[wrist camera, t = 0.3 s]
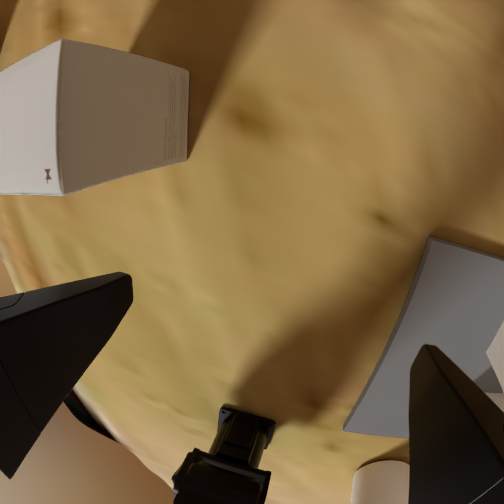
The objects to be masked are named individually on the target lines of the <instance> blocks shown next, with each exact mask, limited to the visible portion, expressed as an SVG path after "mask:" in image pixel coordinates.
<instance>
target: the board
mask: <svg viewBox="0 0 504 504" xmlns="http://www.w3.org/2000/svg"><path fill="white" fill-rule="evenodd" d="M503 321H504V258H502V257H499V256H496V255H493V254H490V253H486V252H483V251H480V250H477V249H473V248H470V247H467V246H463V245H460V244H457V243H453V242H450V241H446V240H443V239H439V238H436V237H432V236H429V237H428V240H427V243H426V246H425V249H424V252H423V255H422V258H421V261H420V264H419V267H418V270H417V272H416V275H415V278H414V281H413V283H412V286H411V288H410V291H409V294H408V296H407V299H406V301H405V304H404V306H403V308H402V311H401V313H400V316H399V318H398V320H397V323H396V325H395V327H394V329H393V332H392V334H391V336H390V338H389V340H388V342H387V345H386V347H385V349H384V351H383V353H382V355H381V357H380V359H379V361H378V363H377V365H376V367H375V369H374V371H373V373H372V375H371V377H370V379H369V381H368V382H367V384H366V386H365V388H364V390H363V392H362V393H361V395H360V397H359V399H358V401H357V402H356V404H355V406H354V407H353V409H352V411H351V413H350V414H349V416H348V418H347V419H346V421H345V423H344V425H343V431H346V432H353V433H360V434H368V435H376V436H386V437H397V438H409V416H408V414H409V389H410V368H411V365H412V363H413V361H414V360H415V358H416V356H417V354H418V352H419V350H420V348H421V347H422V345H424V344H430V345H435V346H437V347H438V348H439V349H440V350H441V351H442V352H443V353H444V354H445V355H447V356H448V357H449V358H450V359H451V360H452V361H453V362H454V363H455V364H456V365H457V366H458V367H459V368H460V369H461V370H462V371H463V372H464V373H465V374H466V375H467V376H468V377H469V378H470V379H471V380H472V381H473V382H474V383H475V384H476V385H477V386H478V387H479V388H480V389H481V390H482V391H483V392H485V393H504V392H503V390H502V387H501V385H500V382H499V380H498V378H497V376H496V373H495V371H494V369H493V367H492V365H491V363H490V360H489V358H488V356H487V354H486V351H487V350H488V348H489V346H490V344H491V343H492V341H493V339H494V337H495V336H496V334H497V332H498V330H499V328H500V327H501V325H502V323H503Z"/></svg>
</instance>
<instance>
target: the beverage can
mask: <svg viewBox="0 0 504 504" xmlns="http://www.w3.org/2000/svg"><path fill="white" fill-rule="evenodd" d="M409 468H410V466H409V465H408V464H407V463H405V462H402V461H394V460H385V461H378V462H374V463H371V464H368V465H366V466H364V467H362V468H360V469H358V470H357V471H356V472H355V474H354V476H353V486H352V496H351V504H408V499H409Z"/></svg>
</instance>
